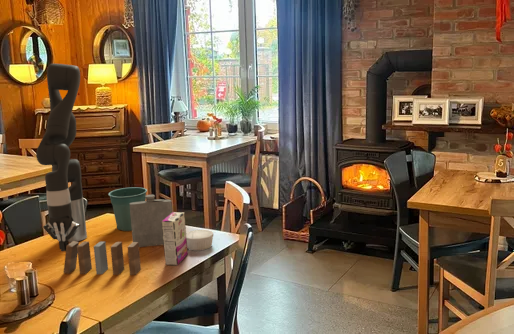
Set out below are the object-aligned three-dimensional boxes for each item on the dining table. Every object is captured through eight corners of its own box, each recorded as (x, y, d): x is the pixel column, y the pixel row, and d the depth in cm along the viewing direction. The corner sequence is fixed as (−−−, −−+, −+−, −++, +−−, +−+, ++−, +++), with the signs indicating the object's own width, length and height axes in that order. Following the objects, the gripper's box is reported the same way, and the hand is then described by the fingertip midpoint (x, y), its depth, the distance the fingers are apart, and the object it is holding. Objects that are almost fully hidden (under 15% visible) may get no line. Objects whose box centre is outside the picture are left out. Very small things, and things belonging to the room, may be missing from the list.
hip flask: (133, 248, 203) (128, 198, 199) (133, 244, 207) (129, 195, 203) (174, 244, 206) (170, 195, 202) (174, 240, 210) (170, 192, 206)
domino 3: (96, 274, 178) (93, 246, 176) (102, 268, 183) (100, 241, 181) (102, 274, 178) (99, 246, 176) (108, 268, 183) (105, 241, 181)
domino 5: (130, 275, 177) (127, 246, 175) (135, 269, 181) (132, 241, 180) (135, 275, 176) (133, 247, 174) (140, 269, 181) (138, 242, 179)
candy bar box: (175, 254, 195) (172, 211, 192) (188, 254, 194) (185, 212, 191) (164, 265, 184) (160, 220, 181) (177, 265, 183) (174, 221, 180)
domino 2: (79, 274, 179) (76, 246, 177) (86, 268, 184) (83, 241, 182) (85, 274, 179) (82, 246, 177) (91, 268, 184) (89, 241, 182)
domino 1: (63, 272, 180) (66, 245, 178) (70, 267, 185) (73, 240, 183) (68, 273, 180) (71, 246, 178) (75, 268, 185) (78, 242, 182)
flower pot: (135, 234, 220) (132, 197, 217) (103, 231, 226) (100, 195, 223) (157, 223, 235) (154, 188, 232) (127, 220, 241) (124, 186, 238)
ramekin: (179, 246, 203) (178, 233, 202) (204, 240, 210) (203, 227, 209) (194, 254, 194) (193, 240, 193) (219, 247, 201) (218, 234, 200)
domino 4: (113, 274, 177) (110, 246, 176) (118, 269, 182) (116, 241, 180) (118, 274, 177) (116, 246, 175) (124, 269, 182) (121, 241, 180)
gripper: (82, 199, 180) (87, 247, 183) (46, 199, 182) (52, 246, 185) (71, 205, 173) (77, 254, 176) (34, 205, 175) (41, 254, 178)
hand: (64, 250), depth 181 cm, fingers closed
